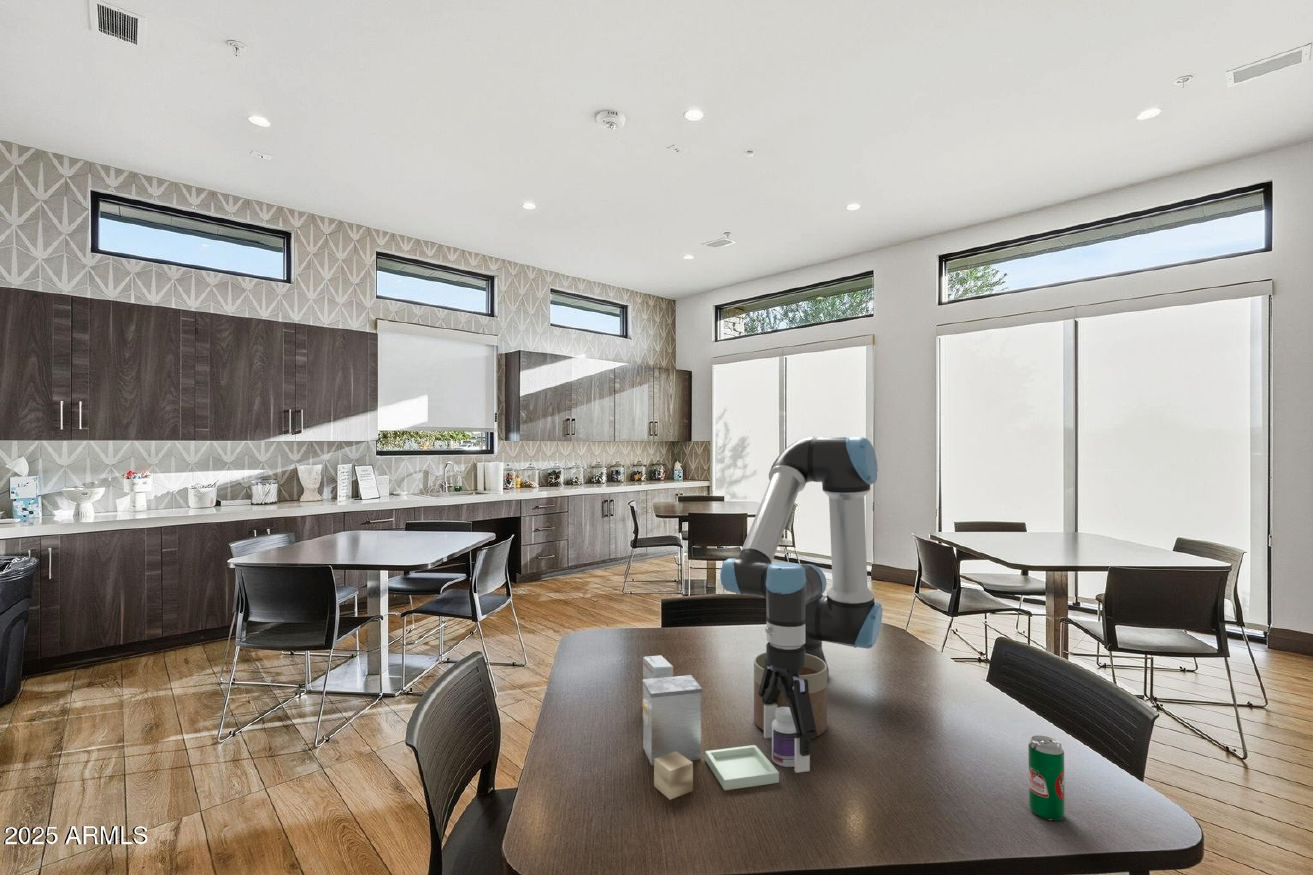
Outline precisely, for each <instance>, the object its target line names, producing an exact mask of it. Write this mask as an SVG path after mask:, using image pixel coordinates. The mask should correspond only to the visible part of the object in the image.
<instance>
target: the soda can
mask: <svg viewBox="0 0 1313 875" xmlns="http://www.w3.org/2000/svg"><path fill="white" fill-rule="evenodd" d="M1027 746H1028V750H1027V751H1028V755H1027V756H1028V807H1029V808H1030V810H1031V812H1033V813H1034V814H1035V816H1037V815H1038V816H1037V817H1039V816H1040V817H1039V818H1041V817H1042V819H1044V818H1045V819H1044V820H1047V819H1052V820H1058V821H1061V820H1062V819H1063V818H1065V815H1066V813H1065V811H1066V804H1065V802H1066V801H1065V800H1066V798H1065V796H1066V795H1065V792H1066V791H1065V790H1066V789H1065V788H1066V787H1065V750H1064V749H1063V748H1062V743H1061V742H1060V741H1058V740H1057V739H1055V738H1052V737H1049V736H1046V735H1033V736H1031V737H1030V740H1029V742H1028V744H1027ZM1060 819H1061V820H1060Z"/></svg>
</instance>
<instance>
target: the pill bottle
mask: <svg viewBox="0 0 1313 875" xmlns="http://www.w3.org/2000/svg"><path fill="white" fill-rule="evenodd" d="M775 717H776V719H774V720H773V722H772V738H771V760H772V762H773V763H774V764H776V765H778V766H780V767H783V768H792V767H794V768H795V738H794V735H795V734H797V732H796V728H795V725H794V721H793V718H792V714H791V711H790V708H789V707H778V708H776V710H775Z"/></svg>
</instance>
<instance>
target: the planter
mask: <svg viewBox="0 0 1313 875" xmlns="http://www.w3.org/2000/svg"><path fill="white" fill-rule="evenodd" d="M765 659H766V652H763V653H760V654H758V655H757V656H756V657H754V659H753V721H754V723H755V725H756V726H757V727H758V728H760V729H761V730H762V731H764V703H763V701H762V697H760V696H759V689H760V685H761V681H762V677H763V673H764V669H765ZM827 665H828V664H827ZM827 665H826V663H825V662H824V661H823V660H821V659H820V658H818V657H816V656H813V655H810V654H806V653H805V665H804V666H803V667H801V668H800V669H799V671H798V672H799V677H800V679H801V680H802V679H807V680H808V688H809V697H810V701H811V706H812V711H813V716H814V721H815V726H816V731H817V737H818V736H820V735H822V734H823V733H825V732H826V730H827V728H828V681H827ZM765 690H767V689H765ZM777 700H778V702H774V703H773V704H777V708H778V707H789V704H788V701H787V700H785V698H784V695H783V693H782V691H781V692H780V694H779V696H778V698H777ZM789 708H790V707H789Z"/></svg>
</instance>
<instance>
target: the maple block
mask: <svg viewBox="0 0 1313 875" xmlns="http://www.w3.org/2000/svg"><path fill="white" fill-rule="evenodd" d="M653 787H655V788H656V789H657V790H658V791H659V792H661V794H663V795H664V796H665V797H666V798H667V799H668V800H673V799H676V798H678V797H680V796H683V795H686V794H688V793H691V792H693V791H694V762H693V761H692V760H688V759H687V758H685V757H684V756H683V755H681V754H680V753H678V752H677V751H676V752H673V753H670V754H667V755H664V756H661V757H658V758H655V759H654V765H653Z"/></svg>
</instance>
